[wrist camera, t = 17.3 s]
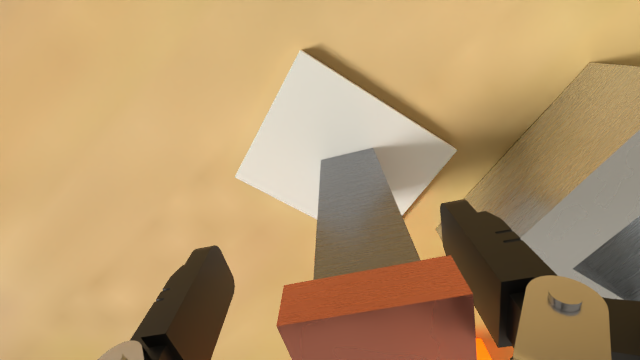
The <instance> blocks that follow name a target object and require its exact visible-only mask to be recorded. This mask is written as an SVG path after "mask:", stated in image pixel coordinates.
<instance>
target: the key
mask: <svg viewBox="0 0 640 360" xmlns="http://www.w3.org/2000/svg"><path fill="white" fill-rule="evenodd" d="M277 328H278V330H279V332H280V335H281V337H282V339H283V341H284V343H285V345H286V347H287V350H288V352H289V354H290V356H291V358H292V360H477V352H476V335H475V318H474V301H473V293H472V291H471V290H470V288H469V286H468V284H467V283H466V281H465V279H464V277H463V276H462V274H461V272H460V270H459V269H458V267H457V265H456V263H455V262H454V260H453V258H452V256H451V255H449V256H443V257H438V258H432V259H427V260H420V258H419V256H418V253H417V251H416V249H415V246H414V244H413V241H412V239H411V237H410V234H409V232H408V230H407V227H406V225H405V223H404V220H403V218H402V215H401V213H400V211H399V208H398V206H397V204H396V201H395V199H394V196H393V194H392V192H391V189H390V187H389V185H388V182H387V180H386V177H385V175H384V173H383V170H382V168H381V166H380V163H379V161H378V159H377V156H376V154H375V151H374V149H373V148H369V149H365V150H361V151H357V152H352V153H348V154H344V155H340V156H335V157H331V158H327V159H323V160H321V167H320V183H319V200H318V216H317V233H316V249H315V266H314V280H311V281H306V282H300V283H295V284H289V285H284V288H283V294H282V299H281V305H280V310H279V316H278V321H277Z"/></svg>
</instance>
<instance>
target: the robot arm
mask: <svg viewBox="0 0 640 360" xmlns="http://www.w3.org/2000/svg"><path fill="white" fill-rule="evenodd" d="M440 213H441V228H442V242H443V247H444V250H445V253H446V256H449V255H451V256H452V258H453V260H454V262H455V263H456V265H457V267H458V269H459V270H460V272H461V274H462V276H463V277H464V279H465V281H466V283H467V284H468V286H469V288H470V290H471V291H472V293H473V301H474V306H475V308H476V309H477V311H478V313H479V315H480V316H481V318H482V320H483V322H484V323H485V325H486V327H487V329H488V331H489V332H490V334H491V336H492V338H493V339H494V341H495V343H496V345H497V346H498V348H499V347H507V346H513V347H514V352H513V356H512V358H510V360H640V301H631V300H620V299H611V298H604V297H601V296H600V295H599V294H598V293H597V292H596V291H594V290H593V289H592V288H590V287H588V286H587V285H585V284H583V283H581V282H579V281H576V280H573V279H570V278H567V277H562V276H558V275H557V274H556V273H555V272H554V271H553V270H552V269H551V268H550V267H549V266H548V265H547V264H546V263H545V262H544V261H543V260H542V259H541V258H540V257H539V256H538V255H537V254H536V253H535V252H534V251H533V250H532V249H531V248H530V247H529V246H528V245H527V244H526V243H525V242H524V241H523V240H522V241H521V238H520V237H519V236H518V235H517V234H516V233H515V232H514V231H512V229H511V228H510V227H509V226H508V225H507V224H506V223H505V222H504V221H503V220H502V219H501V218H499V217H497V216H495V215H493V214H491V213H489V212H487V211H482V212H477V211H476V210H475V209H474V208H473V207H472V206H471V205H470V204H469V202H468V201H467V200H465V199H463V200H458V201H452V202H447V203H442V204H441V206H440ZM234 287H235V285H234V279H233V276H232V273H231V271H230V269H229V267H228V265H227V263H226V261H225V259H224V257H223V254H222V252H221V250H220V249H219V247H218V246H210V247H204V248H199V249H195V250H194V251H193V252H192V254H191V255H190V257H189V258H188V260H187V262H186V263H185V265H183V266H182V267H180V268H179V269H178V270H177V271H176V272H175V273H174V274H173V275H172V276H171V277H170V279H169V280H168V282H167V283H166V285H165V286H164V288H163V291H162V292H161V293H160V294H159V296H158V297H157V299H156V302H154V304H153V305H152V307H151V308H150V310H149V311H148V313H147V315H146V316H145V318H144V319H143V321H142V322H141V324H140V326H139V327H138V329H137V330H136V332H135V333H134V335H133V336H132V338H131V340H130V341H126V342H123V343H121V344H118V345H116V346H115V347H113V348H111V349H110V350H108V351H107V352H106V353H105V354H103V355H102V356H101V357H100V358H99V359H98V360H211V357H212V354H213V351H214V348H215V346H216V343H217V340H218V337H219V334H220V331H221V328H222V326H223V323H224V320H225V317H226V314H227V311H228V308H229V306H230V303H231V300H232V297H233V294H234Z"/></svg>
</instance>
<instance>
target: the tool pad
mask: <svg viewBox="0 0 640 360" xmlns="http://www.w3.org/2000/svg"><path fill="white" fill-rule="evenodd" d="M369 148H373V149H374V151H375V154H376V156H377V159H378V161H379V163H380V166H381V168H382V170H383V173H384V175H385V177H386V180H387V182H388V185H389V187H390V189H391V192H392V194H393V196H394V199H395V201H396V204H397V206H398V208H399V211H400V213H401V215H403V214H404V213H405V212H406V210H407V209H408V208H409V207H410V206H411V204H412V203H413V202H414V201H415V200H416V199H417V197H418V196H419V195H420V194H421V193H422V191H423V190H424V189H425V188H426V187H427V186H428V184H429V183H430V182H431V181H432V180H433V178H434V177H435V176H436V175H437V174H438V173H439V171H440V170H441V169H442V168H443V167H444V165H445V164H446V163H447V162H448V161H449V160H450V158H451V157H452V156H453V155H454V154H455V152H456V151H457V150H456V149H455V148H454V147H453V146H452V145H450V144H448V143H447V142H445V141H444V140H442V139H441V138H439V137H437V136H436V135H434V134H433V133H431V132H430V131H428V130H427V129H425V128H423V127H422V126H420V125H419V124H417V123H416V122H414V121H412V120H411V119H409V118H408V117H406V116H405V115H403V114H401V113H400V112H398V111H397V110H395V109H394V108H392V107H390V106H389V105H387V104H386V103H384V102H383V101H381V100H380V99H378V98H376V97H375V96H373V95H372V94H370V93H369V92H367V91H365V90H364V89H362V88H361V87H359V86H358V85H356V84H354V83H353V82H351V81H350V80H348V79H347V78H345V77H343V76H342V75H340V74H339V73H337V72H336V71H334V70H333V69H331V68H329V67H328V66H326V65H325V64H323V63H322V62H320V61H318V60H317V59H315V58H314V57H312V56H311V55H309V54H307V53H306V52H304V51H303V50H300V51H299V53H298V55H297V57H296V59H295V61H294V63H293V65H292V67H291V69H290V71H289V73H288V75H287V77H286V78H285V80H284V82H283V84H282V86H281V88H280V90H279V92H278V94H277V96H276V98H275V100H274V102H273V104H272V106H271V108H270V110H269V112H268V113H267V115H266V117H265V119H264V121H263V123H262V125H261V127H260V129H259V131H258V133H257V135H256V137H255V139H254V141H253V143H252V145H251V147H250V149H249V150H248V152H247V154H246V156H245V158H244V160H243V162H242V164H241V166H240V168H239V170H238V172H237V174H236V176H235V178H237V179H239V180H241V181H243V182H245V183H247V184H249V185H251V186H253V187H255V188H257V189H259V190H261V191H262V192H264V193H266V194H268V195H270V196H272V197H274V198H276V199H278V200H280V201H282V202H284V203H286V204H288V205H290V206H292V207H294V208H296V209H298V210H299V211H301V212H303V213H305V214H307V215H309V216H311V217H313V218H315V219H317V216H318V200H319V183H320V167H321V160H323V159H327V158H331V157H335V156H340V155H344V154H348V153H352V152H357V151H361V150H365V149H369Z"/></svg>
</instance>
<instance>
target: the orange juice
mask: <svg viewBox="0 0 640 360" xmlns="http://www.w3.org/2000/svg"><path fill="white" fill-rule="evenodd" d="M476 352H477V360H492V359H491V357H490V355H489V353H488V351H487V349H486V347H485V345H484V343H483V341H482V339H481V338H476Z"/></svg>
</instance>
